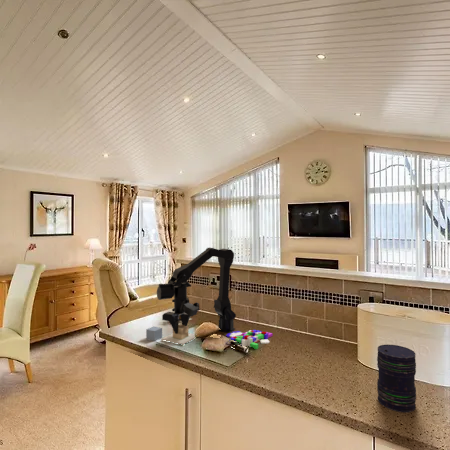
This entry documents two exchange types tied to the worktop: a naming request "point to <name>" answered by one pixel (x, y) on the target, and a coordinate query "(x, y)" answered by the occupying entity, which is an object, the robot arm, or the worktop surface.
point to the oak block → (181, 332)
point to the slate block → (154, 333)
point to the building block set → (250, 338)
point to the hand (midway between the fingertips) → (180, 331)
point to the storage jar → (396, 378)
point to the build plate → (179, 341)
